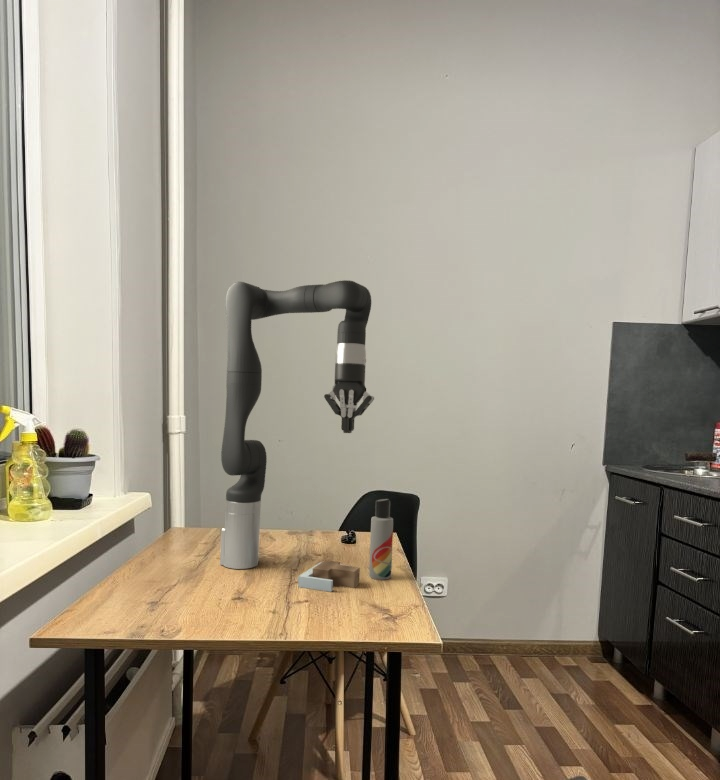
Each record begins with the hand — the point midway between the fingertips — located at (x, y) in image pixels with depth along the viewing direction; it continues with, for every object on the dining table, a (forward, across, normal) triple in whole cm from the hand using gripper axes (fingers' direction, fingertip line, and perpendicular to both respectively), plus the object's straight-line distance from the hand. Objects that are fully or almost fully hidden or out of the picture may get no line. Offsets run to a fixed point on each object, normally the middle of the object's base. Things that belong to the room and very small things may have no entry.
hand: (347, 432), depth 143 cm
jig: (+37, -5, 0) cm, 37 cm away
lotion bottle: (+37, +7, +10) cm, 39 cm away
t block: (+37, -1, 0) cm, 37 cm away
